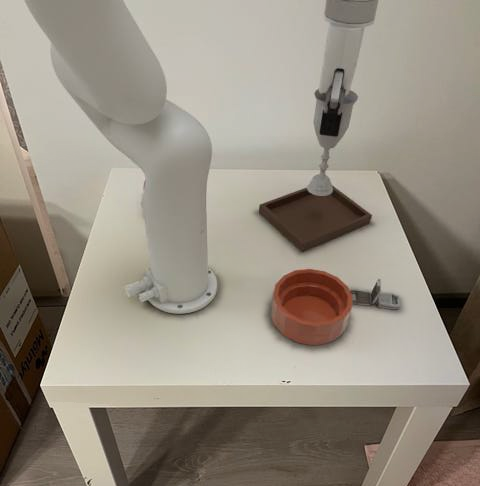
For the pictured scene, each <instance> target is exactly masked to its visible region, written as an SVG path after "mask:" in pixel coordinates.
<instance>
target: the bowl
mask: <svg viewBox="0 0 480 486" xmlns="http://www.w3.org/2000/svg"><path fill="white" fill-rule="evenodd" d="M350 291H351V290H350V288H349V286H348V285H347V284H346V283H345V282H344V281H343V280H342V279H340V278H339V277H338V276H336V275H334V274H332V273H330V272H327V271H325V270H320V269H314V268H305V269H296V270H295V269H294V270H293V271H290V272H288V273H286V274H284V275H282V277H281V278H280V279H279V280H278V281H277V282H276V283H275V285H274V288H273V293H272V302H271V309H270V316H271V319H272V324H273V326H274V327H275V328H276V329H277V330H278V331H279V332H280V333H281V334H282V336H284V337H285V338H287V339H290V340H291V341H293V342H295V343H296V344H297V343H298V344H304V345H310V346H318V345H324V344H329V343H330V342H332V341H334V340H336V339H338V338H340V337H341V335H342V334H343V333H344V331H345V330H346V329H347V326H348V323H349V319H350V317H351V313H352V309H353V303H352V301H353V300H354V296H353V295H352V294H353V293H352V294H351V292H350Z"/></svg>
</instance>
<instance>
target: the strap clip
mask: <svg viewBox="0 0 480 486" xmlns="http://www.w3.org/2000/svg"><path fill="white" fill-rule="evenodd" d="M381 291H382V280H381V278H379V279H377V280H376V283H375V285H373V289H372V290H371V293H370V292H367V291H362V290H354V289H351V290H350V292H351V294H355V295H356V300H354V299H353V301H352V304H354V305H359V306H360V305H361V306H371V305H373V304H375V305H376V306H377V307H378V308H383V309H389V310H398V309H399V308H400V305H401V304H400V296H399V295H397V294H396V293H395V294H394V293H392V292H391V293H389V292H381ZM393 300H396V301H395V302H396V304H395V303H393Z"/></svg>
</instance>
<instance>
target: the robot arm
mask: <svg viewBox="0 0 480 486" xmlns="http://www.w3.org/2000/svg"><path fill="white" fill-rule="evenodd" d="M23 1H24V3H25V4H26V7H27V8H28V11H29V12H30V14H31V15H32V18H33V19H34V20H35V22H36V23H37V25H38V26H39V27H40V29H41V30H42V32H43V33H44V34H45V36H46V37H47V39H48V40H49V42H50V60H51V65H52V67H53V68H52V69H53V71H54V73H55V76H56V77H57V79H58V81H59V83H60V84H61V85H62V88H64V90H65V91H66V92H67V93H68V95H69V96H70V97H71V98H72V100H73V101H74V102H75V103H76V104H77V105H78V107H79V108H80V109H81V110H82V112H83V113H84V114H85V115H86V117H88V119H89V120H90V121H91V122H92V124H93V125H94V126H95V128H96V129H98V131H99V132H100V133H101V134H102V135H103V137H104V138H105V139H106V140H107V141H108V142H109V143H110V144H111V145H112V146H113V147H114V148H115V149H117V150H118V151H119V152H120V153H122V154H123V155H124V156H126V157H127V158H128V159H129V160H130V161H131V162H132V163H133V164H135V165H136V166H137V167H138V168H139V169H140V170H141V171H142V173H143V175H144V177H145V179H146V184H145V188H144V191H143V190H142V194H141V211H142V212H141V213H142V217H143V218H142V219H143V223H144V229H145V237H146V244H147V250H148V257H149V264H150V267H149V268H146V269H145V276H143V277H141V280H139V281H136V282H133V283H129V284H127V285H125V286H124V290H125V292H126V294H127V296H128V297H129V298H131V297H133V296H135V295H137V294H138V298H139V300H140V302H141V303H143V302H146V301H148V302H149V303H150V304H151V305H152V306H153V307H155V308H156V309H158V310H160V311H162V312H165V313H169V314H177V315H178V314H179V315H182V314H183V315H184V314H189V313H194V312H197V311H199V310H202V309H204V308H205V307H206V306H208V305H209V304H210V303H211V302H212V301H213V300H214V299H215V297H216V295H217V292H218V279H217V276H216V274H215V273H214V271H213V270H212V269H211V268H210V267H209V254H208V253H209V252H208V250H209V249H208V214H207V188H208V187H207V186H208V179H209V173H210V169H211V163H212V158H213V144H212V140H211V137H210V135H209V132H208V131H207V130H206V128H205V126H203V125H202V123H201V122H200V121H199V120H198V118H196V117H195V116H193V115H192V114H191V113H189V112H188V111H186V110H185V109H183V108H182V107H180V106H178V105H177V104H176V103H174V102H172V101H170V100H168V99H167V95H168V89H167V88H168V87H167V80H166V75H165V73H164V69H163V68H162V65H161V63H160V61H159V59H158V56H157V55H156V53H155V51H154V50H153V49H152V47H151V46H150V44H149V42H148V41H147V39H146V37H145V36H144V34H143V31H142V30H141V28H140V27H139V26H138V24H137V22H136V20H135V19H134V17H133V15H132V13H131V12H130V10H129V8H128V7H127V5H126V3H125V1H124V0H23ZM378 4H379V0H325V6H324V14H323V19H324V21H326V22H327V23H329V25H328V30H327V34H326V41H325V45H324V53H323V59H322V66H321V74H320V80H319V87H318V89H319V92H320V94H322V93H326V92H327V97H326V103H325V109H324V110H323V113H322V119H321V126H320V132H319V133H320V135H326V136H333V137H337V136H338V134H339V129H340V123H341V118H342V112H341V110H342V104H343V99H344V94H345V96H347V95H348V94H349V91H350V90H351V87H352V83H353V80H354V76H355V73H356V69H357V65H358V60H359V57H360V53H361V48H362V47H361V46H362V44H363V43H362V42H363V38H364V33H365V28H366V27H370V26H372V25H373V24H374V23H375V18H376V14H377V9H378ZM330 88H333V89H332V92H330ZM340 89H343V92H342V93H340ZM327 90H328V91H327ZM330 96H331V100H329V99H330ZM339 97H341V98H340V103H339V101H338V100H339Z"/></svg>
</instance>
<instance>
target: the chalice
mask: <svg viewBox="0 0 480 486" xmlns="http://www.w3.org/2000/svg"><path fill="white" fill-rule="evenodd" d="M332 89H333V88H330V92H332ZM327 91H328V90H327ZM342 92H343V89H340V93H342ZM313 95H314V97H315V101H316V102H315V107H314V115H313V127H314V133H315V136H316V138H317V141H318V144H319V147H320V148H323V152H322V154H321V156H320V158H321V162H320V164H318V167H319V168H320V169H319V170H320V172H319V173H318V174H315V175H313V177H312V178H311V179H310V181H309V183H308V184H307V185H306V188H307V190H308V191H309V192H310V193H312V194H314V195H317V196H326V195H329V194H331V193H332V192H333V188H332V185H333V183H332V180H331V178H330V177H329V176H328V175H327V174H326V172H327V169H329V167H330V166H329V164H328V161H329V160H330V157H331V156H330V150H331V149H334V148H335V147H336V146H337V145H338V144H339V142H341V140H342V139H343V138H344V135H345V134H346V133H347V131H348V129H349V127H350V123H351V117H352V113H353V108H354V105H355V104H356V102H357V101H358V100H359V96H358V94H357V93H356V92H355V91H353V90H351V89H350V91H349V94H348V95H347V96H345V94H344V99H343V104H342V110H341V112H342V118H341V123H340V129H339V134H338V136H337V137H333V136H326V135H320V133H319V132H320V126H321V119H322V113H323V110H324V109H325V103H326V97H327V92H326V93H322V94H320V92H319V88H317V89H316V90H315V91H314V94H313ZM340 98H341V97H339V100H338V101H339V103H340ZM329 100H331V96H330V99H329Z"/></svg>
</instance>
